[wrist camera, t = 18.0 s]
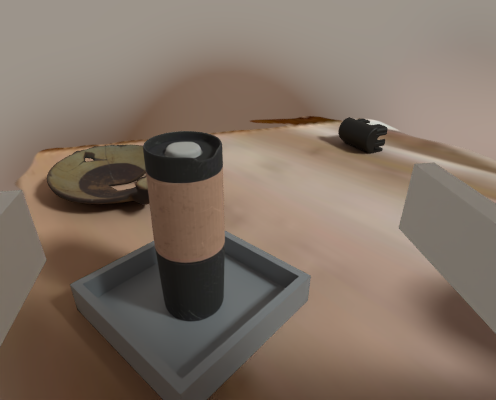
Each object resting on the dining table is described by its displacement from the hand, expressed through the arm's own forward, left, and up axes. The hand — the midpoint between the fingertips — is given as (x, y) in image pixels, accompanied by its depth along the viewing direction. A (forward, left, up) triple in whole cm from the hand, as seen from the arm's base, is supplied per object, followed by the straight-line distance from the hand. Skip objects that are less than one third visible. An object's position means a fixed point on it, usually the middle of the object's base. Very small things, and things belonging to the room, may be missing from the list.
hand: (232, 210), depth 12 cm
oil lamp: (-21, -52, -27) cm, 62 cm away
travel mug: (-12, -19, -26) cm, 34 cm away
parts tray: (-12, -19, -27) cm, 35 cm away
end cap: (-77, -29, -27) cm, 87 cm away
